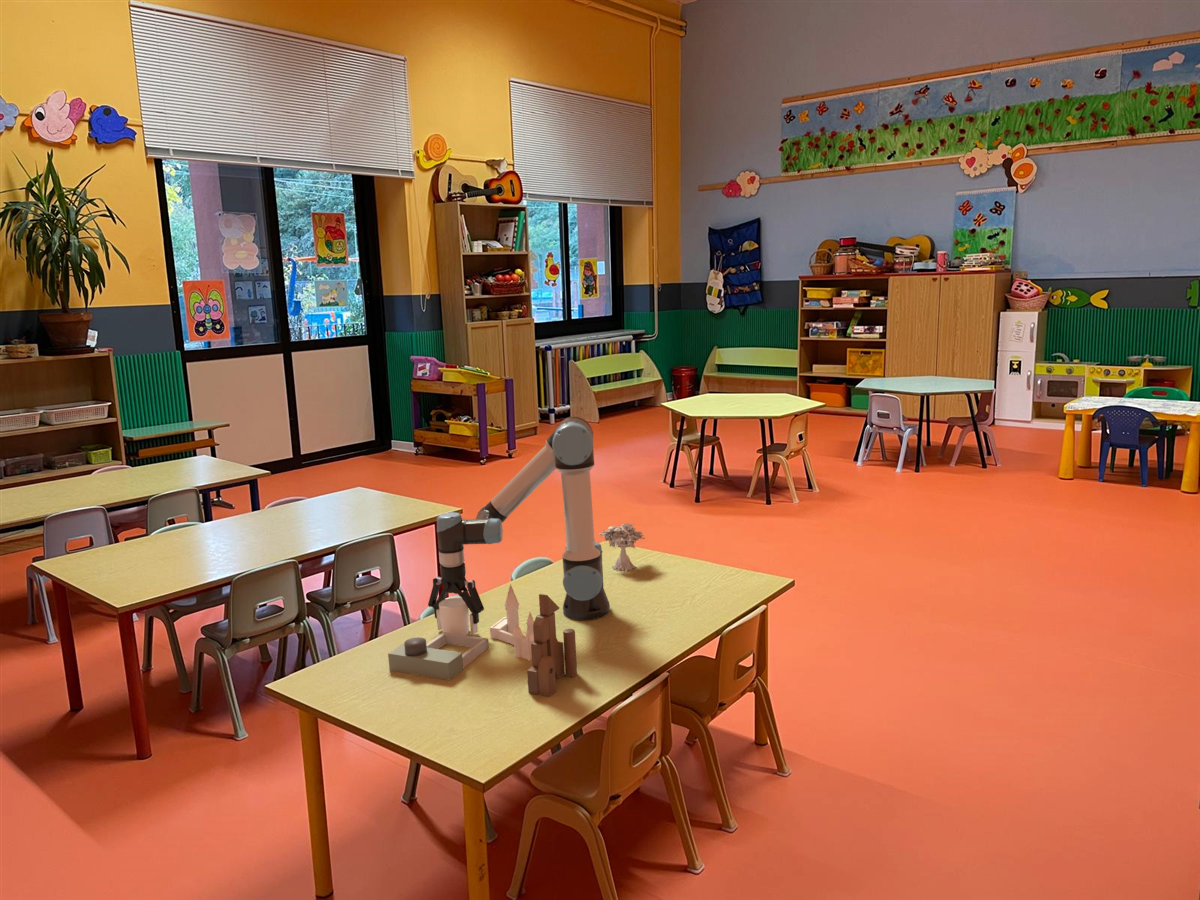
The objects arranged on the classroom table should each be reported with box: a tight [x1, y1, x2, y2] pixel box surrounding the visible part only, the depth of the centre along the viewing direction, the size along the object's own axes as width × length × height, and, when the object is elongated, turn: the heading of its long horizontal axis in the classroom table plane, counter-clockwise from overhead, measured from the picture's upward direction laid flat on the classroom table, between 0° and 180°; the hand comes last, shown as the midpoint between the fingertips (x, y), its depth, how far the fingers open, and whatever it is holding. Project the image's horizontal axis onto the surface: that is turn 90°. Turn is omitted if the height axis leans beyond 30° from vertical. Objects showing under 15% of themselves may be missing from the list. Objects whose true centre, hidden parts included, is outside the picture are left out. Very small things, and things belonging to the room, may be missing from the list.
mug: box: [439, 596, 470, 636], centre depth 273 cm, size 11×9×10 cm
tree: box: [599, 522, 646, 572], centre depth 327 cm, size 18×16×17 cm
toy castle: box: [489, 584, 539, 662], centre depth 263 cm, size 14×25×16 cm, turn 46°
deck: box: [387, 632, 489, 681], centre depth 255 cm, size 20×22×8 cm
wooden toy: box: [526, 593, 578, 697], centre depth 235 cm, size 16×7×25 cm, turn 152°
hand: (457, 630), depth 274 cm, fingers open, 11 cm apart
